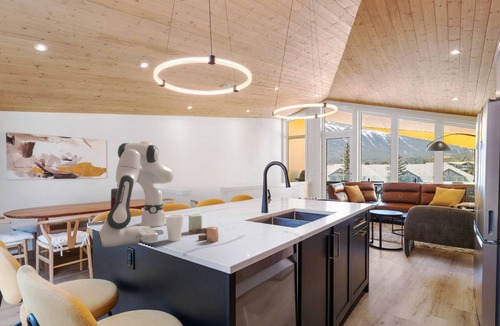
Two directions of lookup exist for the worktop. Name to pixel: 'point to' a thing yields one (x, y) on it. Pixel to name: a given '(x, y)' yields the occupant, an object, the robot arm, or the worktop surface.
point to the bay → (196, 231)
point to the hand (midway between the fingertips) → (162, 231)
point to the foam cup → (174, 226)
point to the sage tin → (195, 221)
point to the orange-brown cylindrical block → (212, 234)
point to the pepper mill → (114, 197)
